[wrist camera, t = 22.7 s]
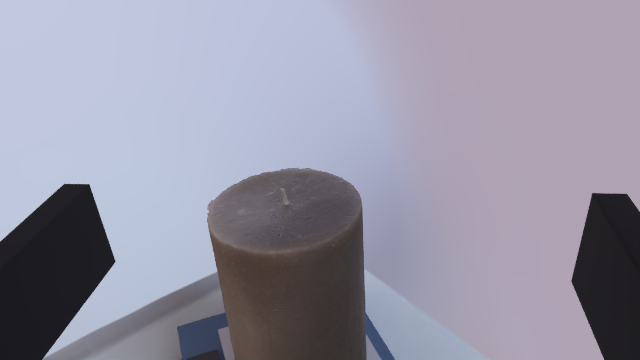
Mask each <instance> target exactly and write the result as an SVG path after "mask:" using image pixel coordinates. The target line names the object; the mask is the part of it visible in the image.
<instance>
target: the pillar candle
mask: <svg viewBox="0 0 640 360" xmlns="http://www.w3.org/2000/svg"><path fill="white" fill-rule="evenodd" d="M208 210H209V213H208V218H207V221H208V227H209V232H210V237H211V241H212V245H213V251H214V255H215V261H216V266H217V271H218V276H219V282H220V286H221V291H222V295H223V302H224V307H225V312H226V317H227V321H228V326H229V333H230V339H231V344H232V348H233V353H234V358H235V360H366V359H367V352H366V315H365V286H364V256H363V255H364V252H363V219H362V201H361V197H360V195H359V193H358V191H357V190H356V189H355V188H354V186H353V185H351V184H350V183H349V182H347V181H345V180H344V179H342V178H340V177H338V176H335V175H333V174H330V173H327V172H321V171H316V170H312V169H310V168H305V169H299V168H298V169H297V168H290V169H289V168H288V169H281V170H280V171H274V172H267V173H261V174H260V175H255V176H251V177H248V178H247V179H244V180H242V181H240V182H239V183H237V184H234V185H232V186H231V187H229V188H227V189H226V190H225V191H223V192H222V193H221V194H220V195H219V196H218V197H217V198H216V199H215V200H213V201H211V202H210V203H209V205H208Z"/></svg>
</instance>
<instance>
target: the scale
mask: <svg viewBox="0 0 640 360" xmlns="http://www.w3.org/2000/svg"><path fill="white" fill-rule="evenodd" d="M365 315H366V352H367V359H366V360H395V359H394V357H393V356H392V354H391V353H390V351H389V349H388V348H387V346H386V345H385V343H384V341H383V340H382V338H381V337H380V335H379V333H378V332H377V330H376V329H375V327H374V326H373V324H372V322H371V321H370V319H369V318H368V316H367V314H366V313H365ZM177 329H178V335H179V341H180V347H181V353H182V359H183V360H235V358H234V353H233V348H232V344H231V339H230V333H229V326H228V321H227V317H226V313H223V314H219V315H216V316H212V317H209V318H206V319H202V320H199V321H195V322H192V323H189V324H185V325H182V326H178V327H177Z"/></svg>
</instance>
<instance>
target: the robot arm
mask: <svg viewBox="0 0 640 360" xmlns="http://www.w3.org/2000/svg"><path fill="white" fill-rule="evenodd" d="M114 263H115V259H114V256H113V253H112V250H111V247H110V244H109V241H108V238H107V235H106V232H105V229H104V227H103V224H102V221H101V218H100V215H99V212H98V209H97V206H96V203H95V200H94V197H93V194H92V191H91V188H90V185H89V184H64V185H63V186H62V187H60V189H58V190H57V191H56V192H55V193H54V194H53V195H52V196H51V197H49V198H48V199H47V200H46V201H45V202H44V203H43V204H42V205H40V206H39V207H38V208H37V209H36V210H35V211H34V212H33V213H32V214H31V215H29V216H28V217H27V218H26V219H25V220H24V221H23V222H22V223H21V224H20V225H18V226H17V227H16V228H15V229H14V230H13V231H12V232H10V233H9V234H8V235H7V236H6V237H5V238H4V239H3V240H2V241H1V242H0V360H42V359H43V358H44V356H45V355H46V354H47V352H48V351H49V350H50V348H51V347H52V346H53V344H54V343H55V342H56V340H57V339H58V338H59V336H60V335H61V334H62V332H63V331H64V330H65V328H66V327H67V326H68V324H69V323H70V322H71V320H72V319H73V318H74V316H75V315H76V314H77V312H78V311H79V310H80V308H81V307H82V306H83V304H84V303H85V302H86V300H87V299H88V298H89V296H90V295H91V294H92V292H93V291H94V290H95V288H96V287H97V286H98V284H99V283H100V282H101V280H102V279H103V278H104V276H105V275H106V274H107V272H108V271H109V270H110V268H111V267H112V266H113V264H114ZM572 284H573V286H574V288H575V291H576V293H577V296H578V298H579V301H580V303H581V305H582V308H583V310H584V312H585V315H586V317H587V320H588V322H589V324H590V327H591V329H592V331H593V334H594V336H595V339H596V341H597V343H598V346H599V348H600V351H601V353H602V355H603V357H604V360H640V212H639V210H638V209H637V207H636V206H635V205H634V203H633V202H632V200H631V199H630V198H629V196H628V195H627V194H600V193H593V194H592V197H591V202H590V206H589V210H588V214H587V218H586V222H585V227H584V231H583V235H582V240H581V244H580V248H579V252H578V256H577V260H576V264H575V268H574V273H573V277H572Z"/></svg>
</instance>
